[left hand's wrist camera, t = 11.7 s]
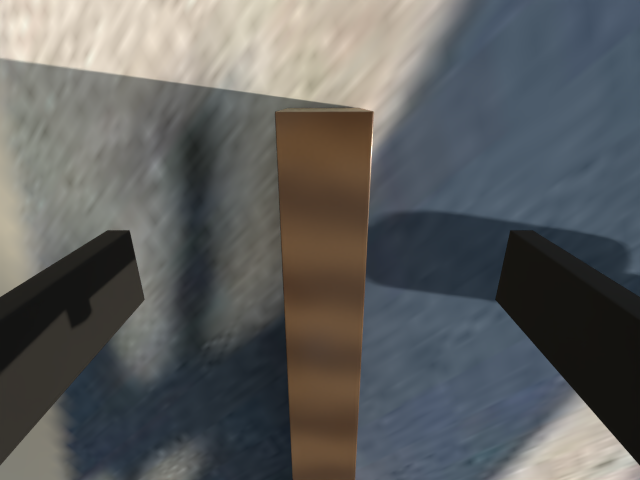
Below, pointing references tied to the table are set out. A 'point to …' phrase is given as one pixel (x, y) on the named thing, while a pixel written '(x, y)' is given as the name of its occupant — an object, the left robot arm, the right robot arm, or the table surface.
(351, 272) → the post
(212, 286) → the table surface
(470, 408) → the table surface
